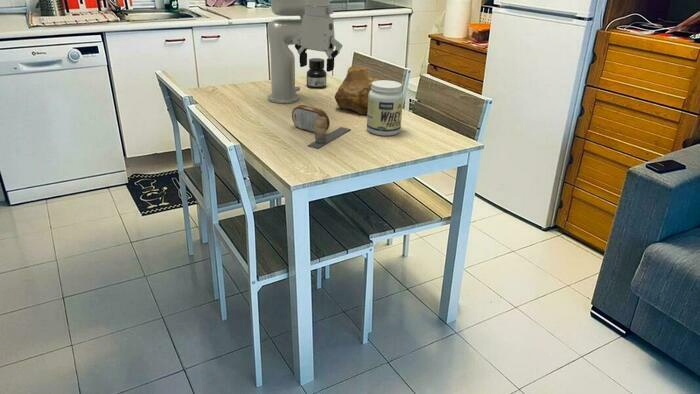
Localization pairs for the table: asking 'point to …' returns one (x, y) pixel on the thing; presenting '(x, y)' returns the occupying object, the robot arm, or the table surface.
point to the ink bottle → (316, 74)
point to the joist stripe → (330, 137)
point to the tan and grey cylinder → (320, 130)
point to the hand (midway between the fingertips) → (316, 68)
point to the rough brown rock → (355, 90)
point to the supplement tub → (385, 108)
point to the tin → (307, 117)
